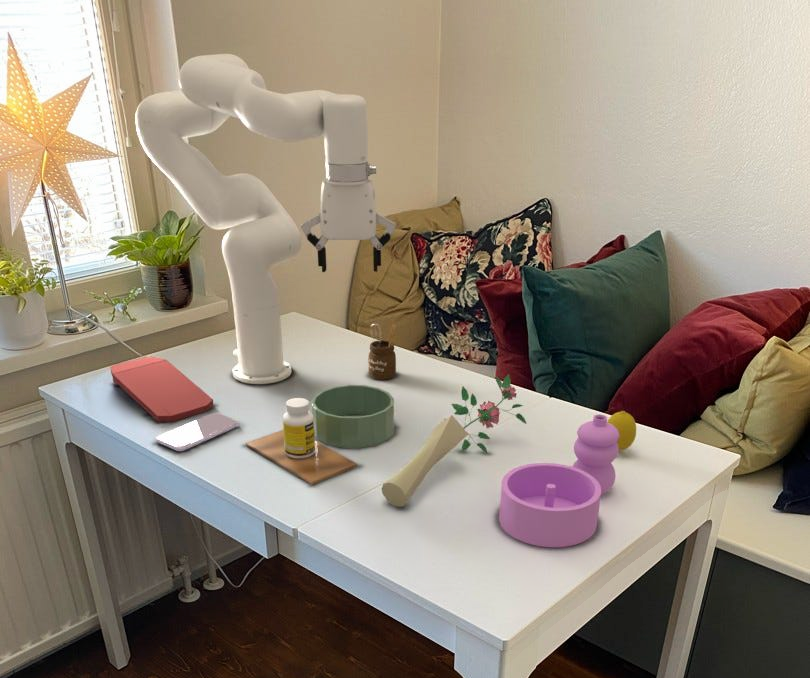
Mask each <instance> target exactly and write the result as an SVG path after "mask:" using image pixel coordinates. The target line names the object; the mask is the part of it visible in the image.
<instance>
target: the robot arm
mask: <svg viewBox="0 0 810 678" xmlns="http://www.w3.org/2000/svg"><path fill="white" fill-rule="evenodd" d="M178 85H179V88H180V89H177V90H169V91H162V92H157V93H154V94H150V95H148V96H147V97H145V98H144V99H142V100H141V101H140V103H139V104H138V106H137V108H136V111H135V127H136V132H137V136H138V139H139V141H140V144H141V146H142V149H143V150H144V152H145V153H146V155H147V156H148V157H149V159H150V160H151V161H152V163H154V165H155V166H157V167H158V168H159V170H160V171H161V172H162V173H164V175H165V176H167V178H168V179H169V180H170V181H171V182H172V183H173V184H174V186H175V187H176V188H177V190H178V191H179V192H180V194H181V195H182V196H183V198H184V199H185V200H186V202H187V203H188V204H189V205H190V207H191V208H192V209H193V210H194V212H195V213H196V215H198V217H200V219H201V220H202V221H203V222H204V223H205V225H206V226H208V227H209V228H210V229H213V230H216V231H217V230H218V231H220V230H227V229H229V230H228V231H227V232H226V233H225V235H224V236H223V239H222V241H221V252H222V257H223V261H224V264H225V267H226V270H227V274H228V279H229V284H230V285H229V286H230V291H231V300H232V307H233V317H234V325H235V336H236V345H237V349H234V350H233V352H232V354H233V355H234V356H235V357H237V364H235V365H234V366H233V368H232V376H233V378H234V379H235V380H237V381H238V382H241V383H244V384H251V385H268V384H274V383H278V382H281V381H284V380H285V379H287V378H289V377H290V376H291V374H292V366H291V364H290V363H289V362H287V361H285V360H284V349H283V348H284V347H283V333H282V320H281V305H280V297H279V290H278V286H277V284H276V282H275V280H274V278H273V277H272V274H271V273H270V269H271V268H273V267H276V266H278V265H282V264H284V263H286V262H289V261H291V260H293V259H295V258H296V257H297V255H299V253H300V250H301V248H302V237H301V233H300V230H299V228H298V226H297V224H296V223H295V221H294V220H293V218H292V217H291V215H290V213H288V211H287V210H286V209H285V207H283V205H282V204H281V203H280V202H279V200H278V199H277V197H275V195H274V194H273V193H272V191H271V189H269V187H267V185H266V184H265V183H264V182H263V181H262V180H261V179H259V178H258V177H256V175H255V176H254V175H253V174H249V173H236V174H231V175H225V174H222V173H221V172H220V171H219V170H217V168H216V167H215V166H214V164H213V163H212V162H211V160H210V159H209V158H208V156H207V155H205V154H204V153H203V152H202V151H201V150H199V149H198V148H196V147H194V146H193V145H192V144H190V143H188V142H187V141H185V140H184V139H187V138H193V137H199V136H205V135H208V134H211V133H213V132H215V131H216V130H217V129H219V128H220V127H221V126H222V125H223V124H224V123H225V122H226V121H227V120H228V119H229V118H230V117H233V118H235V119H238V120H240V121H241V123H242V124H243V125H244V126H245V127H246V128H247V129H248V130H249V131H251V132H252V133H254V134H256V135H260V136H263V137H265V138H269V139H271V140H275V141H278V142H283V143H296V142H301V141H306V140H311V139H316V138H317V139H318V138H323V137H324V138H323V139H324V158H325V161H324V163H325V164H324V165H325V178H324V179H322V180H321V187H320V188H321V189H320V202H319V203H320V207H319V209H320V211H319V213H318V214H316V215H314V216H313V217H311V218H309V219H307V220H305V221H304V222H302V223H301V225H300V228H301V231H302V232H303V233H304V236H305V237H306V239H307V241H308V242H309V243H310V244H311V245H312V246H313V247H314V248H315V249H316V250H317V265H318V267H321V273H325V272H327V249H326V247H325V245H326V244H327V243H328V242H329V240H330V241H364V240H365V241H366V240H368V241H370V243H371V244H372V245H373V247H372V249H373V250H372V253H373V254H372V255H373V258H372V259H373V261H372V263H373V264H372V265H373V272H375V273H378V267H381V266H382V249H383V248H384V246H385V245H386V244H387V243H388V242H389V241H390V240H391V238H392V235H394V232H395V230H396V227H397V225H396V222H394V221H392V220H390V219H389V218H387V217H385V216H383V215H381V214H379V213H378V212H377V206H376V193H375V187H374V182H373V179H371V178H369V177H370V176H371V175H377V165H372V164H370V163H369V147H368V146H369V145H368V141H369V140H368V139H369V138H368V106H367V102H366V99H365V98H364V97H363V96H361V95H358V94H351V93H350V94H349V93H347V94H346V93H342V94H341V93H340V94H339V93H334V92H332V91H328V90H324V89H314V90H304V91H296V92H290V93H279V92H275V91H271V90H268V89H267V86H266V83H265V80H264V78H263V76H262V75H261V74H260V73H259V72H257V71H256V70H254V69H251V68H249V66H248V64H247V63H246V62H245V61H244V60H243V58H241V57H240V56H238V55H235V54H232V53H217V54H216V53H215V54H205V55H197V56H193V57H191V58H189V59H187V60H186V61H185V62H184V63H183V64H182V66H181V67H180V70H179V73H178ZM377 223H378V224H379V225H381V226H382V227H385V228H386V230H385V231H384V233H383V234H382V235H381V236H380V237H379V236H378V235H377ZM318 224H320V233H321V235H320V236H319V237H318V236H316V235H315V233H313V231H312V229H311V228H314V227H315V226H317V225H318Z"/></svg>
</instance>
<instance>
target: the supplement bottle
mask: <svg viewBox="0 0 810 678" xmlns="http://www.w3.org/2000/svg"><path fill="white" fill-rule="evenodd" d="M285 410H286V412H285V413H284V414H283V416H282V427H283V429H282V430H284V446H285V453H286V455H287V456H289V457H291V458H295V459H303V458H308V457H310V456H312V455H313V454H314V452H315V441H316V440H315V439H316V438H315V434H314V418H313V415H312V411H310V402H309V400H308V399H306V398H302V397H294V398H290V399H288V400H287V401H286V402H285Z"/></svg>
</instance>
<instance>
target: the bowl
mask: <svg viewBox="0 0 810 678" xmlns="http://www.w3.org/2000/svg"><path fill="white" fill-rule="evenodd" d="M311 413H312V415H313V418H314V437H315V439H317V440H318V441H320V442H322V443H324V444H326V445H328V446H333V447H336V448H337V447H338V448H341V449H343V448H344V449H346V448H347V449H360V448H368V447H372V446H376V445H379V444H382V443H384V442H386V441H387V440H389V439H390V438H391V437H392V436H393V435H394V433H395V432H394V431H395V398H394V397H393V396H392V394H391V393H390V392H389V391H386V390H384V389H382V388H380V387H376V386H372V385H365V384H347V385H345V384H344V385H339V386H338V385H337V386H332V387H329V388H327V389H324V390H321V391H320V392H318V393H317V394H315V395H314V396H313V398H312V400H311ZM348 415H355V416H348ZM357 415H360V416H357Z"/></svg>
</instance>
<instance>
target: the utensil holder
mask: <svg viewBox="0 0 810 678" xmlns="http://www.w3.org/2000/svg"><path fill="white" fill-rule="evenodd" d="M373 326H374V327H373ZM376 326H377V327H378V331H379V332H381V330H382V328H381V327H379V324H378V323H372V324H371V325H370V327H373V328H374V330H377V329H376ZM396 327H397V323H393V324H391V325H390V329H389V330H390V331H389V334H388V339H389V340H385V339H382V333H379V335H378V334H377V332H375V336H379V337H378V338H379V340H378V338H374V336H373V335H374V334H373V330H370V332H369V334H370V336H371V338H372V341H371V342H370V344H369V353H368V359H367V360H368V361H367V362H368V364H367V365H368V366H367V367H368V374H369V377H370V378H371V379H374V380H380V381H384V380H385V381H386V380H391V379H393V378H394V377H395V376H396V373H397V356H396V352H395V343H394V342H393V341H392V339H393V338H394V336H395V333H396ZM375 339H376V340H375Z"/></svg>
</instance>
